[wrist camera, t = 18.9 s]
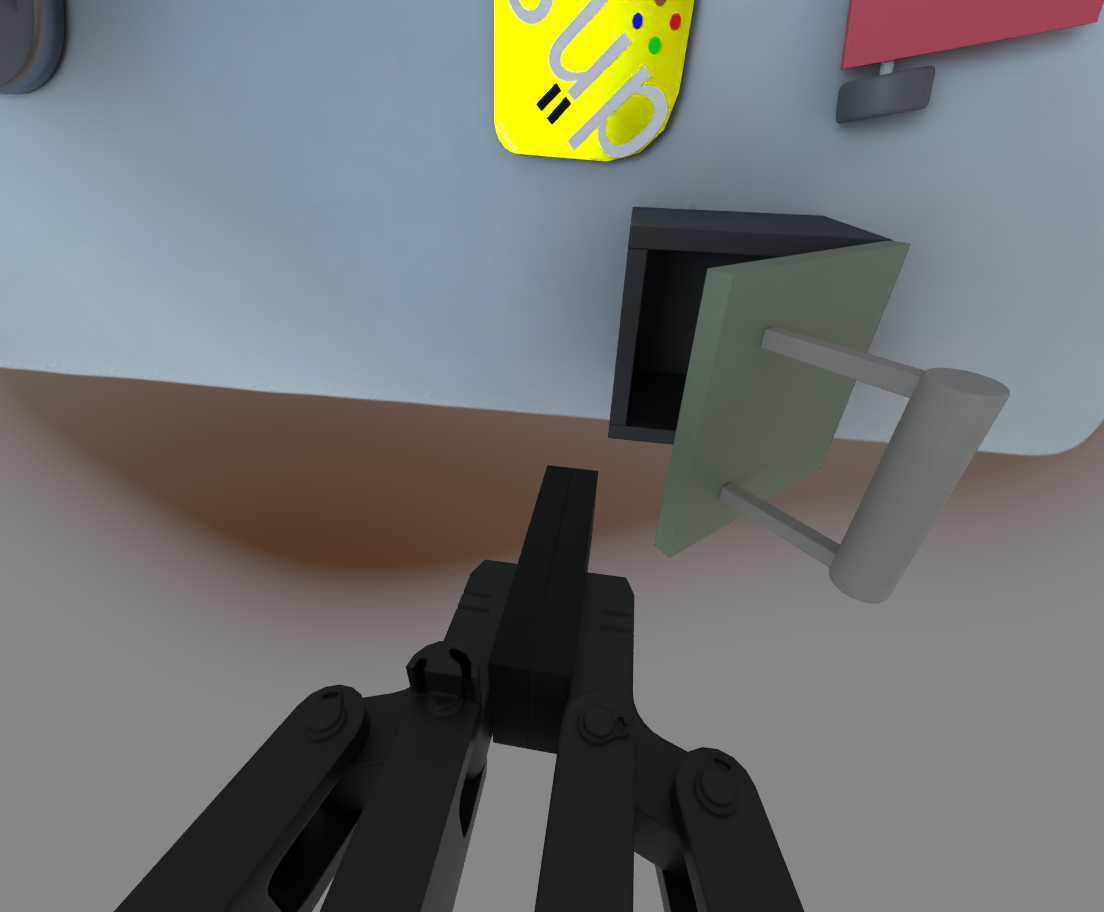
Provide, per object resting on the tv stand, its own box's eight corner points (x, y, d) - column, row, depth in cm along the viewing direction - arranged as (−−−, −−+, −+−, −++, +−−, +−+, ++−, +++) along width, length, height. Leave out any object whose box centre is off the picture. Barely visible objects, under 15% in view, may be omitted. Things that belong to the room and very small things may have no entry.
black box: (614, 375, 38) (607, 438, 30) (633, 206, 32) (630, 226, 23) (771, 389, 37) (810, 459, 28) (824, 215, 30) (893, 240, 22)
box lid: (653, 545, 22) (823, 679, 16) (706, 267, 15) (1016, 339, 10) (804, 460, 28) (962, 536, 23) (887, 240, 22) (1133, 274, 17)
